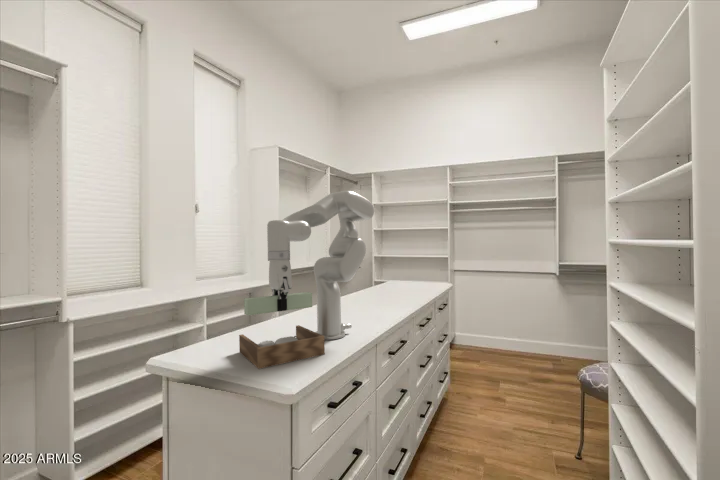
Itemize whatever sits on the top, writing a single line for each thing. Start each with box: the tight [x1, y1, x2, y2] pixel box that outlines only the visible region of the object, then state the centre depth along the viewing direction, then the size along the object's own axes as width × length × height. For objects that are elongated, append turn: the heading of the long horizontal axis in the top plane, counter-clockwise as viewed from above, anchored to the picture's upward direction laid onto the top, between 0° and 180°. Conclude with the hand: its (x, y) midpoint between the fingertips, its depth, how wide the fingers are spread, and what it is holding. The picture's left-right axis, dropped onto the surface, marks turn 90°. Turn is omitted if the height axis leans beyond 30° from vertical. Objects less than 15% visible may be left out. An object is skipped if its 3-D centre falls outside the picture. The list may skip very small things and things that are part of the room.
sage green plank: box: [243, 291, 313, 316], centre depth 120 cm, size 23×4×5 cm, turn 125°
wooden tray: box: [238, 325, 326, 370], centre depth 119 cm, size 22×20×6 cm
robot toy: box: [256, 335, 298, 347], centre depth 120 cm, size 12×4×15 cm
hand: (279, 309), depth 120 cm, fingers closed on sage green plank, 3 cm apart
